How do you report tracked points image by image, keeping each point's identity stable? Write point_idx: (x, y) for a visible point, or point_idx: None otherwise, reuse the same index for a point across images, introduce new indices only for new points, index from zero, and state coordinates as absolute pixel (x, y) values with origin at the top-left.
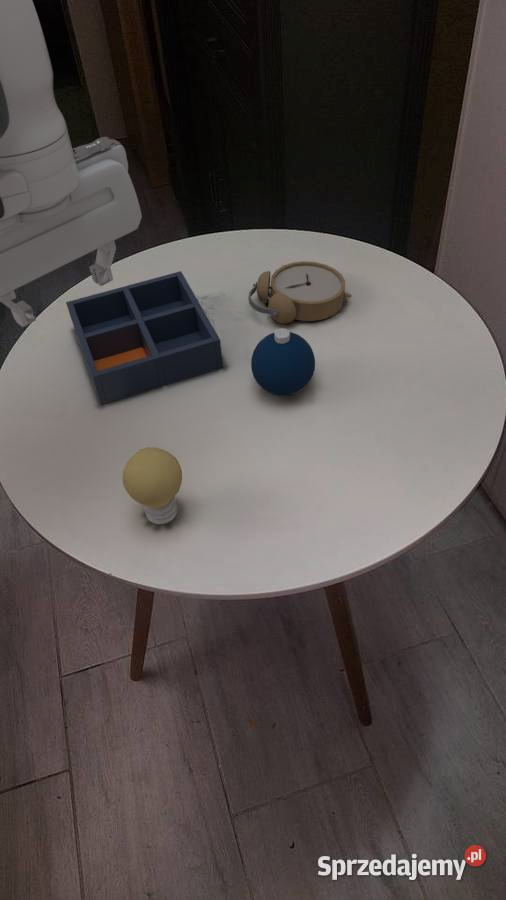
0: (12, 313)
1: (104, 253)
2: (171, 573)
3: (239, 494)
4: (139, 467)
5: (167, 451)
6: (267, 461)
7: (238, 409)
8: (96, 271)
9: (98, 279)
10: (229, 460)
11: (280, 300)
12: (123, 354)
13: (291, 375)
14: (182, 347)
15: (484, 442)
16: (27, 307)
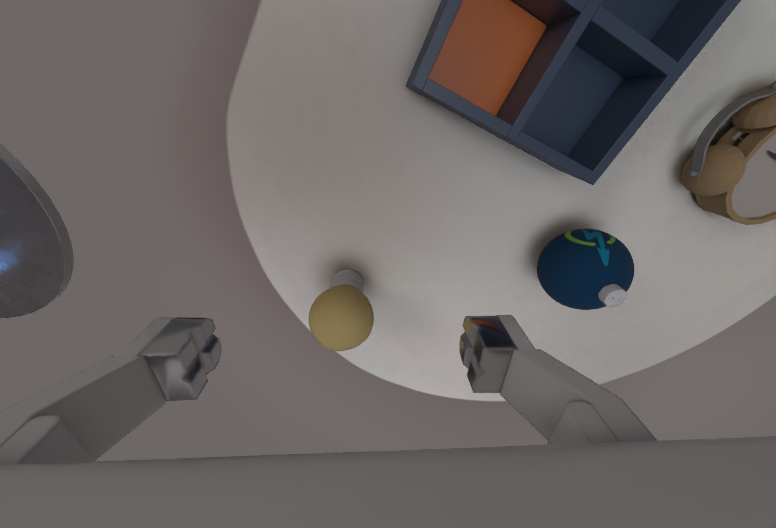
0: (140, 335)
1: (550, 418)
2: None
3: (412, 309)
4: (324, 338)
5: (367, 327)
6: (458, 302)
7: (503, 237)
8: (475, 381)
9: (467, 353)
10: (438, 278)
11: (723, 179)
12: (513, 11)
13: (560, 303)
14: (551, 152)
15: None
16: (182, 392)
